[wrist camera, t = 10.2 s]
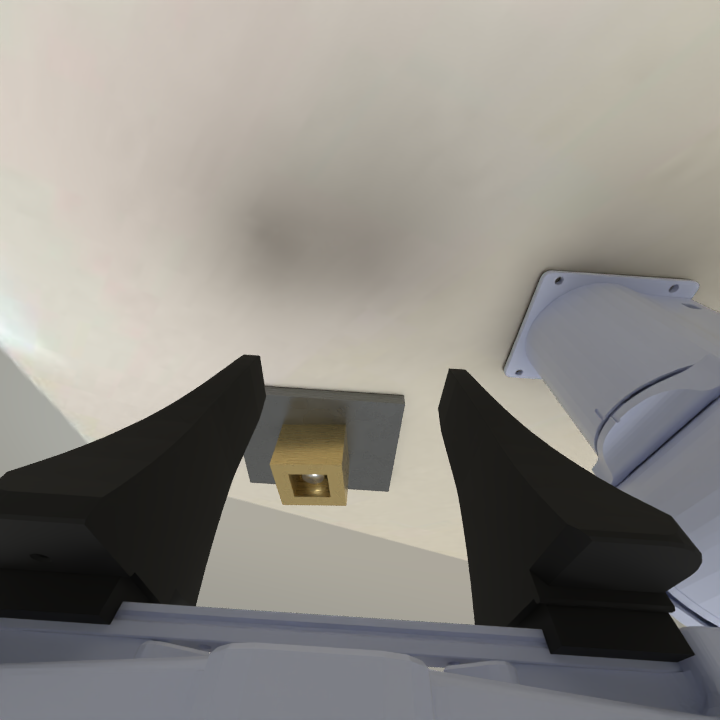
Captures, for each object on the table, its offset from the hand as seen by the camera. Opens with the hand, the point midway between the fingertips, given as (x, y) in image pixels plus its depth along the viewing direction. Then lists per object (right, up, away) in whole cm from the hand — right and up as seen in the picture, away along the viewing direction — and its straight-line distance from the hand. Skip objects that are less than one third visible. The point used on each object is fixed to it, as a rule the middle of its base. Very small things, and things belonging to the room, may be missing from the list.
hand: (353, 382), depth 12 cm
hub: (-4, -7, +16) cm, 17 cm away
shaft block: (-3, -7, +17) cm, 18 cm away
